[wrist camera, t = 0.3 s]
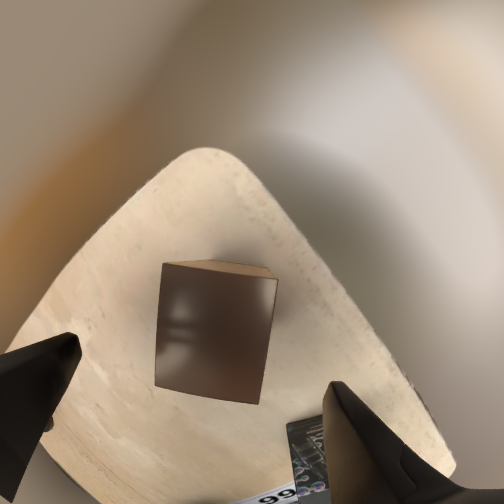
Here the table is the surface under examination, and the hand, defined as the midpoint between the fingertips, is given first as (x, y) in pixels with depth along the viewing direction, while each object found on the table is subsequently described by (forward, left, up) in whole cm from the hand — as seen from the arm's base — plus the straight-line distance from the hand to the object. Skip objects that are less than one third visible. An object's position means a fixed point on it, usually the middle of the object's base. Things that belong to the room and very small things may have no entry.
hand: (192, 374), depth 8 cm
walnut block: (0, 0, -15) cm, 15 cm away
